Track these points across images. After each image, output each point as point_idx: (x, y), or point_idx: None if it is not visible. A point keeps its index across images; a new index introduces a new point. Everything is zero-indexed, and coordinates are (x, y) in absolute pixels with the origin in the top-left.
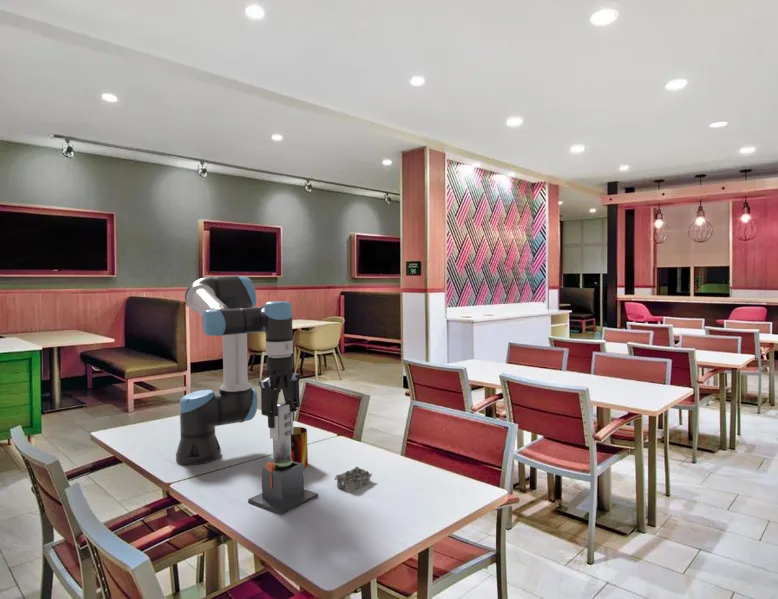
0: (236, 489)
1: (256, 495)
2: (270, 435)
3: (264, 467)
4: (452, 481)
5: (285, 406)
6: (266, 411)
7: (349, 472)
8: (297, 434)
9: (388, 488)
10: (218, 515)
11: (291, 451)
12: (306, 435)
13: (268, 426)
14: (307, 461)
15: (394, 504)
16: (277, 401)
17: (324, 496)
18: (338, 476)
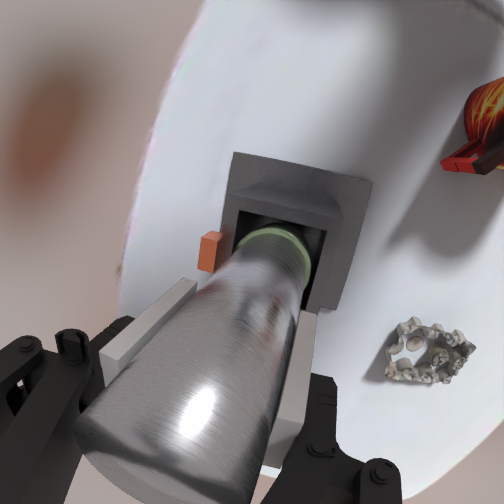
0: (291, 63)
1: (262, 157)
2: (175, 287)
3: (230, 206)
4: (443, 461)
5: (145, 500)
6: (17, 393)
7: (450, 340)
8: None
9: (411, 409)
10: (156, 138)
11: (471, 165)
12: None
13: (119, 320)
14: None
15: (342, 435)
16: (63, 493)
17: (343, 318)
18: (423, 328)
